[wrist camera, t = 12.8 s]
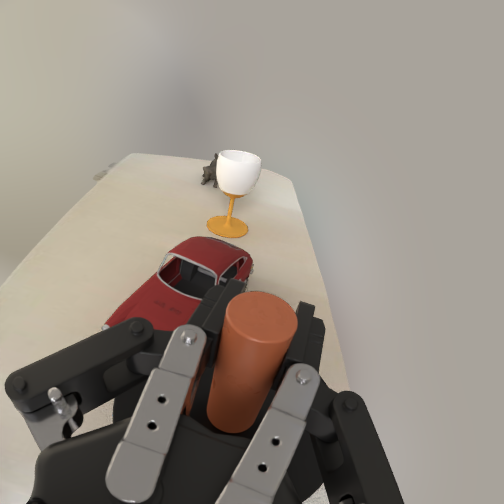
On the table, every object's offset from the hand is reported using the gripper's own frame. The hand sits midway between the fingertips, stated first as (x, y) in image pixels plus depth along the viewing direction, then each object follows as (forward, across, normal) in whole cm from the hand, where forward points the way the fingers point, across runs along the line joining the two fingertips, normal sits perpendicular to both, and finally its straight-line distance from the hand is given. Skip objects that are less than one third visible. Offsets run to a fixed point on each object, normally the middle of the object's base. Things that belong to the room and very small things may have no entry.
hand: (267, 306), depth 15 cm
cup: (+47, +15, +24) cm, 55 cm away
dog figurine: (+68, +28, +24) cm, 78 cm away
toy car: (+19, +12, +24) cm, 33 cm away
